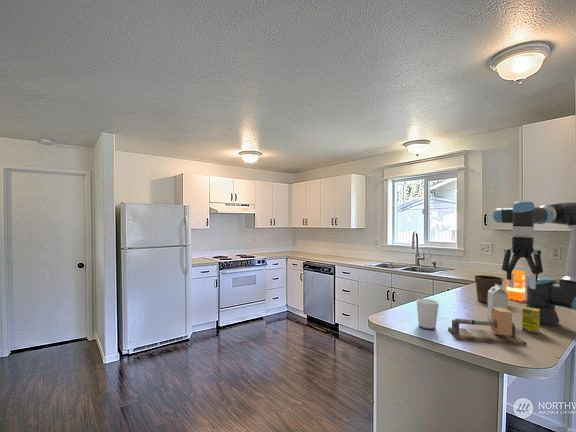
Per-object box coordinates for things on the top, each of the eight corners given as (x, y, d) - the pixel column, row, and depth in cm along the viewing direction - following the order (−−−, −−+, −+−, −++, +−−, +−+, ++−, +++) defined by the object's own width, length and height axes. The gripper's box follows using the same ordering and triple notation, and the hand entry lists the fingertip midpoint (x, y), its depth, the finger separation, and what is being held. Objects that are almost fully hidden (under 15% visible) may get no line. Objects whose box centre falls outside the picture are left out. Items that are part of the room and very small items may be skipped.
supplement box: (521, 331, 148) (522, 308, 148) (524, 328, 152) (524, 306, 152) (537, 334, 143) (538, 311, 144) (539, 331, 148) (539, 309, 148)
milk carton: (502, 319, 165) (503, 284, 165) (507, 323, 158) (508, 286, 159) (487, 318, 167) (488, 283, 167) (492, 322, 160) (492, 285, 160)
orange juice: (509, 297, 217) (510, 269, 218) (525, 300, 211) (525, 270, 211) (506, 298, 212) (506, 269, 213) (521, 301, 206) (522, 271, 206)
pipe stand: (510, 335, 142) (510, 318, 142) (526, 345, 130) (526, 327, 130) (448, 330, 146) (448, 314, 146) (458, 340, 134) (458, 322, 134)
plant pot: (475, 303, 199) (476, 278, 199) (471, 297, 214) (472, 274, 214) (505, 306, 192) (506, 280, 193) (499, 300, 207) (500, 276, 207)
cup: (425, 331, 143) (426, 304, 143) (411, 324, 152) (412, 299, 153) (443, 330, 146) (443, 303, 146) (428, 323, 155) (428, 298, 155)
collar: (502, 329, 140) (503, 307, 140) (511, 335, 133) (512, 312, 133) (491, 328, 141) (491, 307, 141) (499, 334, 134) (499, 311, 134)
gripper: (543, 236, 138) (542, 287, 138) (492, 235, 141) (491, 284, 141) (554, 237, 131) (553, 291, 131) (501, 236, 134) (500, 288, 134)
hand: (521, 287), depth 136 cm, fingers open, 8 cm apart
